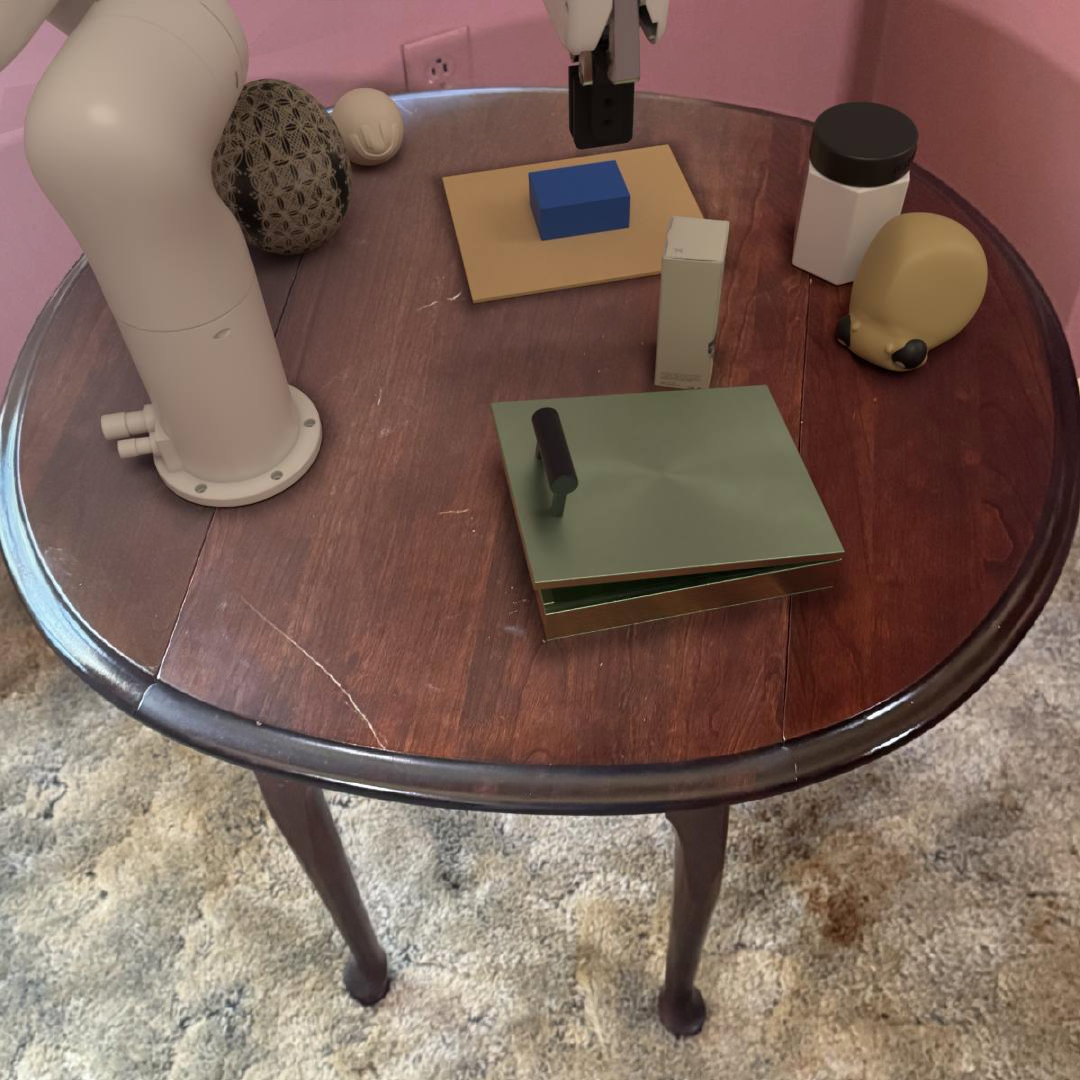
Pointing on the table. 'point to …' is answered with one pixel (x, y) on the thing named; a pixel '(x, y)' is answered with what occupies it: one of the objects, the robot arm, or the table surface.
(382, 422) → the table surface
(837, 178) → the jar
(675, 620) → the table surface
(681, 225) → the box
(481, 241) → the placemat
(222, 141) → the decorative egg
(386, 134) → the cream embossed ball
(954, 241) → the tan pug toy
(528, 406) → the lunchbox lid
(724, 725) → the table surface
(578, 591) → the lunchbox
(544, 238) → the block
